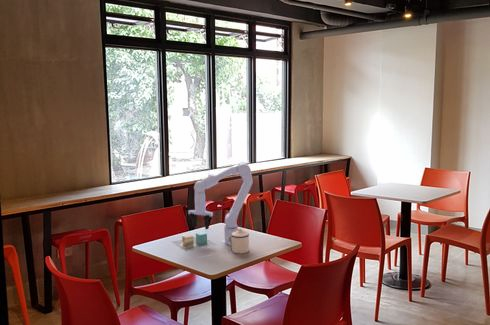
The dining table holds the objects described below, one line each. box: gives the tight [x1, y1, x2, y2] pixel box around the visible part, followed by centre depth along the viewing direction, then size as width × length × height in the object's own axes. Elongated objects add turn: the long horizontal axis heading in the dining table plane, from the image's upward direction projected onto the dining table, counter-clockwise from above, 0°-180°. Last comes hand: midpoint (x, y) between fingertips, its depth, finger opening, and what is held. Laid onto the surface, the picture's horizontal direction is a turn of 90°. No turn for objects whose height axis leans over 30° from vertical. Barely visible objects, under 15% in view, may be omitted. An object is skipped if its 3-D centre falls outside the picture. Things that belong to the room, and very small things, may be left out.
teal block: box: [195, 231, 208, 244], centre depth 248 cm, size 4×4×5 cm
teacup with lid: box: [229, 227, 250, 254], centre depth 234 cm, size 12×9×12 cm
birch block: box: [181, 234, 194, 247], centre depth 244 cm, size 4×4×5 cm
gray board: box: [171, 236, 218, 252], centre depth 247 cm, size 20×18×1 cm
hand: (201, 228), depth 248 cm, fingers open, 7 cm apart
